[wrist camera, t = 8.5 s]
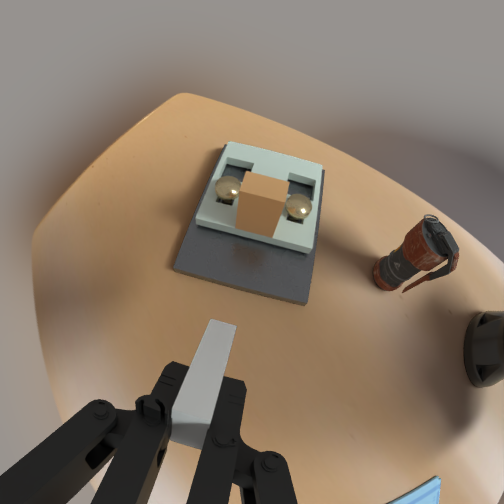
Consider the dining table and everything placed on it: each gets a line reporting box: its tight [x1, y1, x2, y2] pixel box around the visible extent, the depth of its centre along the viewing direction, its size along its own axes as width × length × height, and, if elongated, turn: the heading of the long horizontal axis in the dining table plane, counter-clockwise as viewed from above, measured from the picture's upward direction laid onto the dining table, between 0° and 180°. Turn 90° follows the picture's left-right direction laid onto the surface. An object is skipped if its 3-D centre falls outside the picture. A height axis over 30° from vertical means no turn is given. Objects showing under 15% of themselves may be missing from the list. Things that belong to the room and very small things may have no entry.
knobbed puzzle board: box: [195, 141, 322, 254], centre depth 36 cm, size 16×16×10 cm
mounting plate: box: [173, 144, 325, 306], centre depth 39 cm, size 18×24×5 cm
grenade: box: [373, 215, 459, 293], centre depth 32 cm, size 6×8×15 cm
